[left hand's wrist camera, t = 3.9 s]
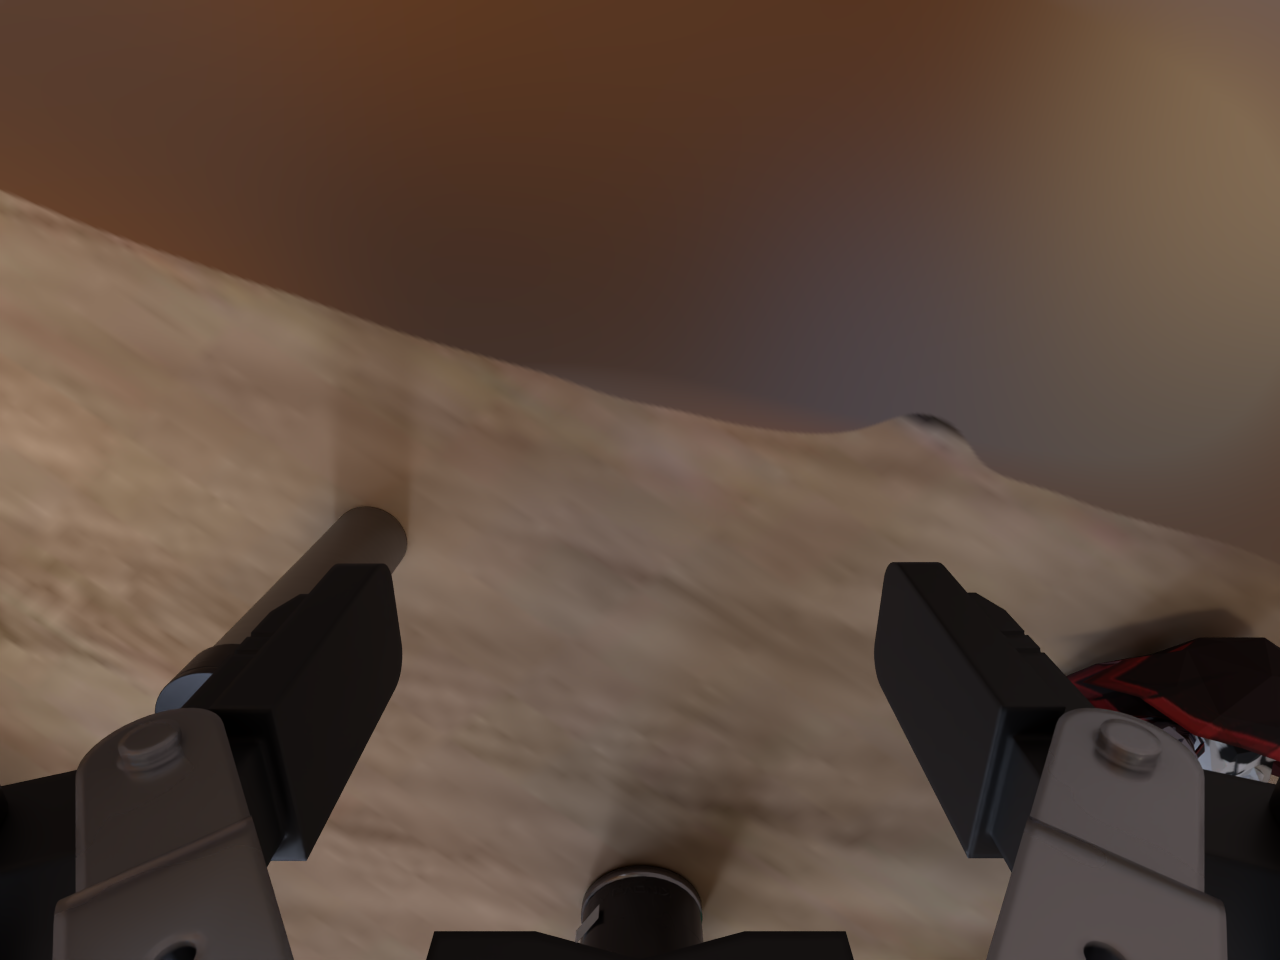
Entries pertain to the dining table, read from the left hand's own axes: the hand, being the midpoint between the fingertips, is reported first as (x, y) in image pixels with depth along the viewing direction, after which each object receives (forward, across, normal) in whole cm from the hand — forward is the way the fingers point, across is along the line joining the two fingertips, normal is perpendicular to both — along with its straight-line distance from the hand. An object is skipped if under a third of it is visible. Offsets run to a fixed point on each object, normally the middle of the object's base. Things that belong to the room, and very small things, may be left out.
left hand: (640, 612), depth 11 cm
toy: (+29, +33, -23) cm, 50 cm away
